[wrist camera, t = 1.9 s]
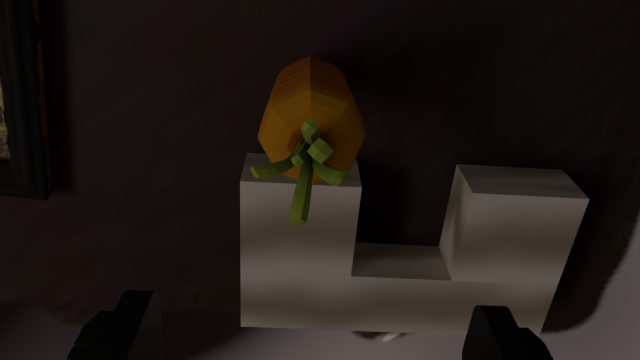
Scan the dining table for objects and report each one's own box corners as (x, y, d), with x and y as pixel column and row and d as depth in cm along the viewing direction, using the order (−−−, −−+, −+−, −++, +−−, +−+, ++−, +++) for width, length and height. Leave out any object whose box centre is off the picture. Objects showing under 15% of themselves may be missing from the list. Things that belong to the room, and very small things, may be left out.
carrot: (313, 122, 34) (315, 262, 21) (255, 72, 33) (218, 190, 19) (366, 68, 33) (406, 184, 19) (308, 12, 31) (309, 98, 18)
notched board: (247, 152, 35) (240, 181, 32) (562, 169, 36) (589, 198, 33) (246, 289, 41) (240, 326, 37) (519, 300, 42) (538, 337, 38)
